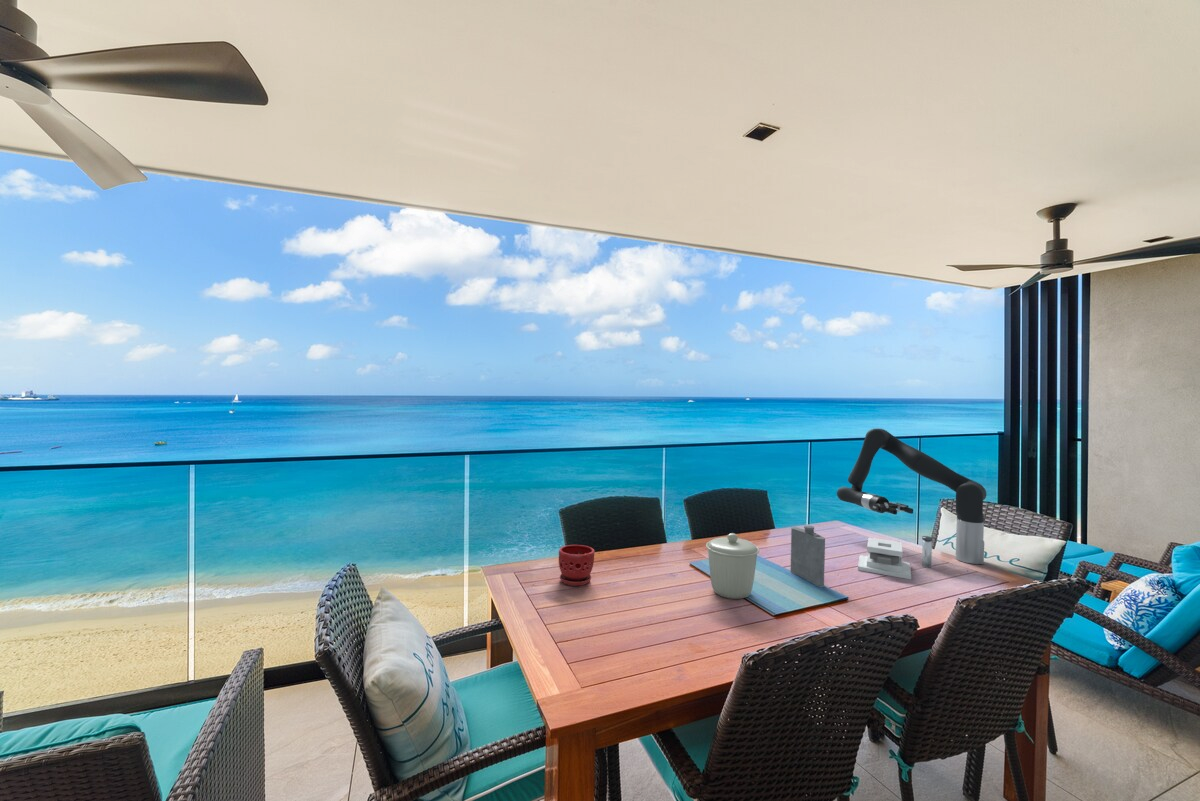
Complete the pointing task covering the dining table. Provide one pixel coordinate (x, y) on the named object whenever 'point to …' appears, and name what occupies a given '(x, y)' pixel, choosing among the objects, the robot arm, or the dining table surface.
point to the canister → (732, 566)
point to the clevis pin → (927, 551)
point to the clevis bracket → (884, 559)
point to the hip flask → (808, 554)
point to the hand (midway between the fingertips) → (904, 511)
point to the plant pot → (576, 564)
